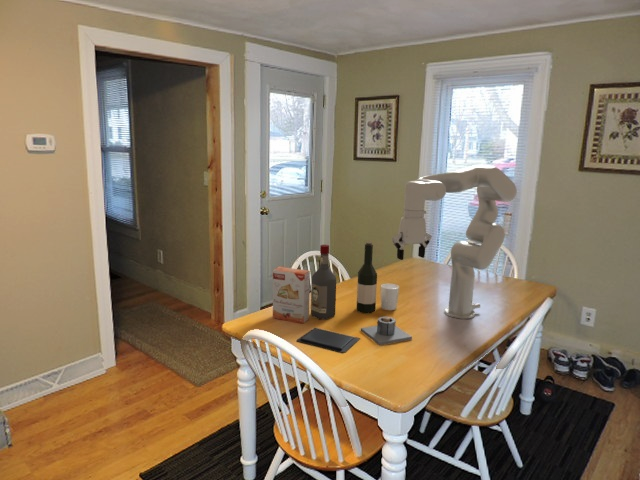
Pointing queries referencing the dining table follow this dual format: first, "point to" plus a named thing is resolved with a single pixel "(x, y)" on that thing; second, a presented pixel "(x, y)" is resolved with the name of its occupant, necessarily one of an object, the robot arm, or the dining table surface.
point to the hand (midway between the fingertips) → (410, 258)
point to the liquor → (323, 288)
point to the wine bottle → (367, 283)
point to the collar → (386, 326)
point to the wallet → (328, 340)
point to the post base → (382, 339)
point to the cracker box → (291, 294)
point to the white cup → (389, 296)
